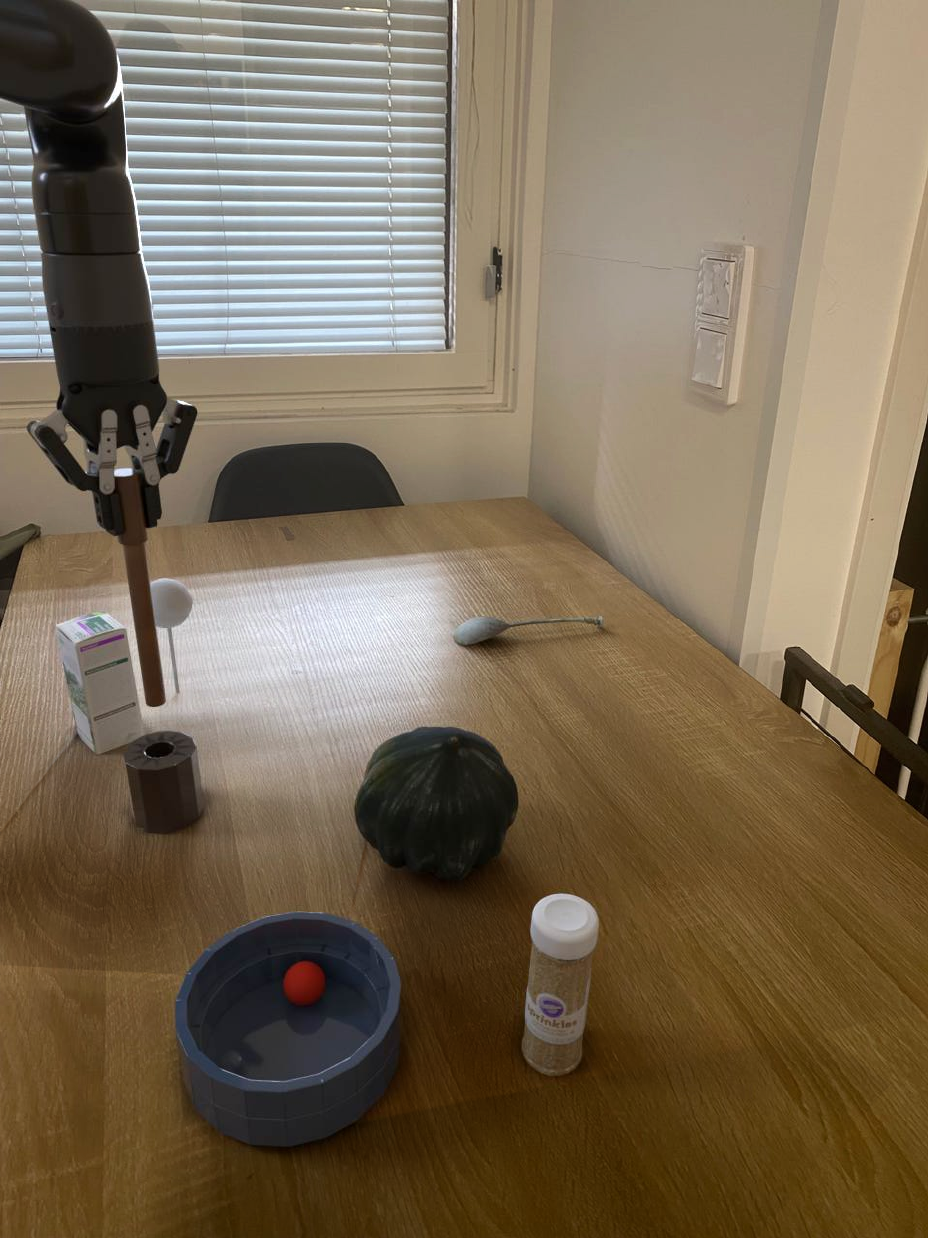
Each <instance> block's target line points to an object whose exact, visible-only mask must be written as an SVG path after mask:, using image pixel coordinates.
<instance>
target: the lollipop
mask: <svg viewBox="0 0 928 1238" xmlns="http://www.w3.org/2000/svg"><path fill="white" fill-rule="evenodd" d="M150 584H151V592H152V599H153V606H154V614H155V621H156V628H160V629H167V636H168V643H169V652H170V659H171V666H172V674H173V675H172V676H173V683H174V690H175V693H177V694H178V693H180V685H179V678H178V668H177V662H176V655H175V654H176V653H175V647H174V646H175V644H174V638H173V630H172V629H173V628H176V627H178V626H180V625H182V624H183V623H184V622H185V621H187V619H188V617H189V616H190V614H191V612H192V608H193V603H194V602H193V601H194V599H193V596H192V594H191V592H190V591H189V590H188V588H187V587H186V586H185V584H184V583H181V582H180V581H178V580H176V579H173V578H168V577H167V578H166V577H165V578H164V577H163V578H159V579H156V580H154V581H150Z"/></svg>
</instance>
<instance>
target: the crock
mask: <svg viewBox="0 0 928 1238" xmlns="http://www.w3.org/2000/svg"><path fill="white" fill-rule="evenodd" d="M122 761H123V766H124V772H125V778H126V784H127V790H128V796H129V802H130V807H131V814H132V818H133V821H134V824H135V826H136V827H137V828H139V829H140V830H142V831H145V832H147V833H150V834H169V833H170V834H171V833H175V832H178V831H181V830H183V829H186V828H188V827H190V826H191V825H193V824H194V823H196V821H197V820H198V819H200V817H201V816H202V813H203V810H204V808H205V803H204V796H203V787H202V779H201V771H200V764H199V755H198V747H197V743H196V742H195V739H194V737H193V736H192V735H189V734H186V733H184V732H182V731H177V730H159V731H155V732H150V733H146V734H145V733H144V735H143V736H141V737H139V738H138V739H136V740H134V741H132V742H130V743H128V744H127V746H125V749H124V750H123V752H122Z"/></svg>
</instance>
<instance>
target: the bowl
mask: <svg viewBox="0 0 928 1238" xmlns="http://www.w3.org/2000/svg"><path fill="white" fill-rule="evenodd" d="M302 961H310V962H313V963H315V964H317V965H318V966H319V967H320V968H321V969H322V971H323V973H324V976H325V989H324V992H323V994H322V995H321V997H320V998H319V999H318V1000H317V1001H316V1002H314V1003H313V1004H310V1005H307V1006H299V1005H296V1004H294V1003H292V1002H291V1001H290V1000H289V999H288V998H287V997H286V995H285V993H284V989H283V981H284V977H285V975H286V973H287V971H288V970H289V969H290V968H291V967H292V966H293V965H294V964H296V963H298V962H302ZM402 986H403V985H402V981H401V977H400V972H399V969H398V965H397V962H396V959H395V957H394V956H393V954H392V953H391V951H390V950H389V949H388V947H387V946H386V945H385V943H383V941H382V940H381V938H380V937H379V936H378V935H376V934H375V933H373V932H371V931H370V930H368V929H367V928H366V927H364V926H363V925H361V924H360V923H358V922H356V921H354V920H351V919H348V918H345V917H341V916H338V915H335V914H331V913H328V912H327V913H326V912H316V911H315V912H314V911H297V910H296V911H290V912H285V913H278V914H273V915H267V916H262V917H260V918H257V919H254V920H253V921H250V922H248V923H245V924H243V925H241V926H238V927H235V928H233V929H232V930H230V931H228V932H227V933H226V934H224V935H223V936H222V937H219V938H218V939H217V940H216V941H214V942H213V943H212V944H210V945H209V946H208V947H206V949H205V950H204V951H203V952H202V954H200V956H199V957H198V958H197V959H196V960H195V962H194V963H193V964H192V965H191V967H190V968H189V969H188V970H187V971H186V973H185V976H184V977H183V981H182V982H181V985H180V988H179V990H178V993H177V995H176V998H175V1002H174V1032H175V1038H176V1043H177V1049H178V1057H179V1063H180V1069H181V1075H182V1081H183V1085H184V1088H185V1091H186V1092H187V1094H188V1095H189V1096H188V1097H189V1099H190V1101H191V1103H192V1106H193V1108H194V1110H195V1111H196V1112H197V1113H198V1114H199V1115H200V1116H201V1117H202V1118H203V1119H204V1120H206V1122H207V1123H209V1124H210V1125H211V1126H212V1127H213V1128H214V1129H215V1130H216V1131H217V1132H219V1133H220V1134H223V1135H225V1136H228V1137H230V1138H233V1139H235V1140H238V1141H240V1142H243V1143H245V1144H248V1145H250V1146H251V1145H252V1146H265V1147H283V1148H288V1147H289V1148H290V1147H294V1146H298V1145H302V1144H303V1145H304V1144H307V1143H310V1142H315V1141H319V1140H323V1139H326V1138H329V1137H330V1136H332V1135H334V1134H336V1133H338V1132H339V1131H341V1130H343V1129H344V1128H346V1127H348V1126H350V1125H352V1124H353V1123H355V1122H357V1121H359V1119H361V1118H362V1117H363V1116H364V1115H365V1114H366V1113H367V1111H368V1110H370V1109H371V1107H372V1106H373V1105H375V1104H376V1103H377V1102H378V1100H380V1099H381V1097H382V1096H383V1095H384V1094H385V1092H386V1090H387V1088H388V1086H389V1084H390V1082H391V1080H392V1078H393V1076H394V1074H395V1072H396V1070H397V1068H398V1066H399V1064H400V1054H401V1045H402V1037H403V1021H402V1020H403V1016H402V1015H403V1011H402V1010H403V1009H402V1008H403V1006H402V1005H403V1004H402V1003H403V1000H402V999H403V998H402V997H403V996H402V992H403V991H402Z"/></svg>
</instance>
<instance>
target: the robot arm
mask: <svg viewBox="0 0 928 1238" xmlns="http://www.w3.org/2000/svg"><path fill="white" fill-rule="evenodd" d="M122 78H123V77H122V69H121V63H120V58H119V54H118V51H117V48H116V45H115V43H114V40H113V39H112V36H111V34H110V33H109V31H108V29H107V28H106V27H105V25H104V24H103V23H102V21H101V20H100V19H99V18H98V17H97V16H96V15H95V14H94V13H93V12H91V10H89V9H88V8H87V7H85V6H84V5H82V4H80V3H79V2H76V1H75V0H0V99H1V100H3V101H5V102H9V103H13V104H15V105H19V106H22V107H23V110H24V115H25V121H26V126H27V132H28V133H27V134H28V139H29V144H30V149H31V155H32V161H33V167H32V172H31V199H32V205H33V212H34V217H35V224H36V231H37V235H38V236H37V237H38V242H39V248H40V249H39V250H40V251H41V252H40V257H41V280H42V283H41V284H42V290H43V296H44V302H45V308H46V314H47V321H48V326H49V333H50V340H51V344H52V352H53V357H54V363H55V364H54V365H55V369H56V376H57V379H58V385H59V394H58V397H57V399H56V407H55V408H56V410H54V411H53V412H52V413H50V414H49V415H47V416H45V417H44V418H43V419H41V420H40V421H38V420H31V421H29V422H28V423H27V425H26V431H27V433H28V434H29V436H30V437H31V438H32V440H33V441H34V442H35V444H36V445H37V446H38V447H39V449H40V450H41V451H42V452H43V454H44V455H45V456H46V457H47V459H48V460H49V461H50V463H51V464H52V466H54V468H55V469H56V470H57V472H58V473H59V474H60V476H61V477H62V478H63V480H64V481H65V482H66V483H67V484H69V485H71V486H73V487H75V489H77V490H79V491H81V492H87V491H90V492H91V493H92V499H93V506H94V510H95V517H96V518H95V519H96V523H97V524H98V525H99V527H100V528H102V529H103V530H105V531H106V533H107V534H110V535H111V536H113V537H118V536H119V535H123V533H124V530H123V523H122V516H121V509H120V502H119V495H118V493H117V492H115V491H114V488H115V478H114V470H115V466H116V465H117V461H118V459H117V458H118V456H117V455H118V453H117V451H118V449H121V448H123V447H124V450H125V452H126V454H127V455H128V457H129V461H130V465H131V469H136V470H138V471H139V473H140V481H141V489H142V496H143V504H144V511H145V519H146V526H147V530H149V529H152V528H157V527H158V520H161V518H162V516H163V510H162V509H163V508H162V502H161V492H160V482H161V480H162V479H163V478H164V477H166V476H168V475H170V474H171V475H173V474H176V473H177V472H178V471H179V470H180V466H181V464H182V461H183V458H184V455H185V452H186V449H187V446H188V444H189V440H190V437H191V434H192V432H193V429H194V426H195V422H196V419H197V417H198V409H197V407H196V406H194V405H192V404H189V403H187V402H184V401H182V400H179V399H176V400H175V399H172V398H170V397H168V394H167V392H166V390H165V389H164V387H163V386H162V383H161V381H160V363H159V356H158V347H157V339H156V330H155V320H154V313H153V312H154V302H153V299H152V296H151V288H150V281H149V277H148V273H147V269H146V265H145V260H144V255H143V252H142V249H143V248H142V247H143V246H142V239H141V231H140V223H139V222H140V221H139V214H138V207H137V201H136V196H135V192H134V187H133V182H132V179H131V175H130V172H129V171H130V170H129V163H128V146H127V144H128V143H127V132H126V131H127V130H126V116H125V104H124V89H123V79H122ZM161 417H162V422H164V425H163V427H162V430H161V433H160V436H159V438H158V443H157V445H156V444H155V439H154V436H153V432H154V429H155V428H156V425H157V424H158V422H159V420H160V418H161ZM67 424H68V425H69V427H71V428H72V429H73V431H74V432H76V433H77V434H78V436H80V437H81V439H83V455H84V458H85V460H86V471H85V470H84V469H83V467H82V466H81V464H80V463H79V462H78V460H77V459H76V457H75V456H74V455H73V453H72V452H71V451H70V450H69V449H68V447H67V445H66V444H65V443H67V441H68V438H69V437H68V432H67V430H66V425H67Z"/></svg>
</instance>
